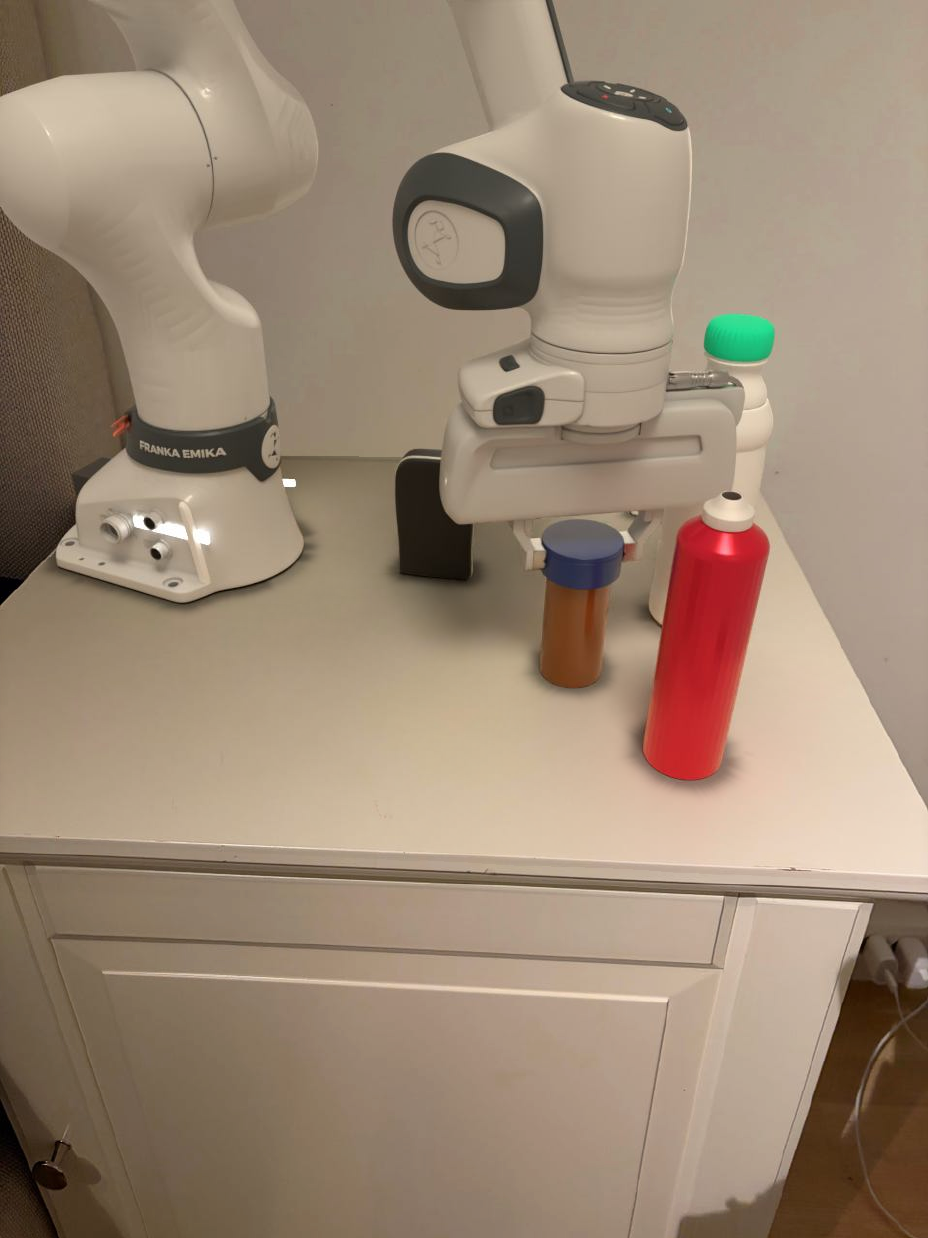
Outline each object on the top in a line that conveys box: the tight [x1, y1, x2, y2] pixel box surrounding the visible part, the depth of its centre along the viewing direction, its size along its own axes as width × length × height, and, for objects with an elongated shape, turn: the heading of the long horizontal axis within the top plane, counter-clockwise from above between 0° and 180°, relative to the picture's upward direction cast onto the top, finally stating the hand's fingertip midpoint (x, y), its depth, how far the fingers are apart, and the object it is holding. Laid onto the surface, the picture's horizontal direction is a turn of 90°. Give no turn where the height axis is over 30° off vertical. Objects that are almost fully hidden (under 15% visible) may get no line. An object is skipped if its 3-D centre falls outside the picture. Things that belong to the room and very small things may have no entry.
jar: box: [539, 577, 613, 689], centre depth 70 cm, size 5×5×11 cm
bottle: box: [642, 491, 771, 781], centre depth 59 cm, size 5×5×20 cm
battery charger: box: [394, 448, 475, 580], centre depth 82 cm, size 7×4×11 cm, turn 80°
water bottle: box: [648, 313, 776, 626], centre depth 72 cm, size 7×7×25 cm
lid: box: [539, 518, 624, 590], centre depth 67 cm, size 6×6×2 cm
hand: (579, 562), depth 67 cm, fingers closed on lid, 6 cm apart
